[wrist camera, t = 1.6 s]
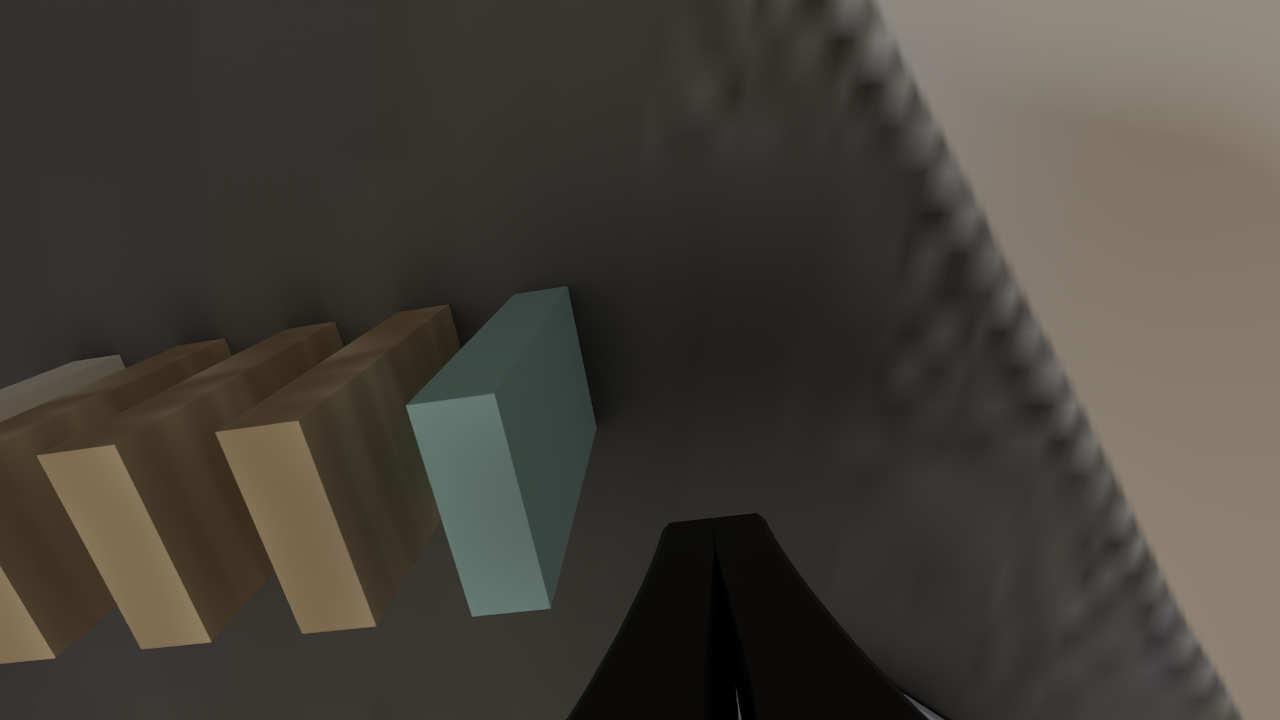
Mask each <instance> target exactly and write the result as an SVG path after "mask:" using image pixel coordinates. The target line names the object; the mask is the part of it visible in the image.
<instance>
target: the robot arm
mask: <svg viewBox="0 0 1280 720" xmlns="http://www.w3.org/2000/svg"><path fill="white" fill-rule="evenodd" d="M713 526H714V527H713ZM735 684H736V685H735ZM566 720H944V719H942V718H941V717H939V716H938V715H936V714H935V713H933V712H932V711H930V710H928V709H927V708H925V707H924V706H922V705H921V704H919V703H917V702H916V701H914V700H913V699H911V698H910V697H908V696H906V695H905V694H903V693H902V692H901V691H900V690H899V689H898V688H897V687H896V686H895V685H894V684H893V683H892V682H891V681H890V680H889V679H888V678H887V677H886V676H885V675H884V674H883V673H882V671H881V670H880V669H879V668H878V667H877V666H876V665H875V664H874V663H873V662H872V661H871V659H870V658H869V657H868V656H867V655H866V654H865V653H864V652H863V651H862V650H861V648H860V647H859V646H858V645H857V644H856V643H855V642H854V641H853V640H852V638H851V637H850V636H849V635H848V634H847V633H846V632H845V630H844V629H843V628H842V627H841V626H840V625H839V623H838V622H837V621H836V620H835V619H834V617H833V616H832V615H831V614H830V612H829V611H828V610H827V609H826V607H825V606H824V605H823V604H822V602H821V601H820V600H819V599H818V597H817V596H816V595H815V594H814V592H813V591H812V590H811V589H810V587H809V586H808V585H807V583H806V582H805V581H804V579H803V578H802V577H801V575H800V574H799V573H798V571H797V570H796V569H795V567H794V566H793V564H792V563H791V561H790V560H789V559H788V557H787V556H786V554H785V553H784V551H783V550H782V548H781V547H780V545H779V543H778V542H777V540H776V538H775V537H774V535H773V533H772V531H771V530H770V528H769V526H768V524H767V522H766V520H765V519H764V518H763V517H761V516H760V515H759V514H757V513H753V514H744V515H735V516H726V517H717V518H713V520H712V518H708V519H700V520H691V521H682V522H673V523H669V524H668V525H667V526H666V527H665V528H664V530H663V531H662V534H661V537H660V541H659V543H658V546H657V549H656V552H655V554H654V557H653V559H652V562H651V564H650V567H649V569H648V571H647V574H646V576H645V578H644V580H643V583H642V585H641V587H640V589H639V592H638V594H637V596H636V598H635V600H634V602H633V604H632V606H631V608H630V610H629V612H628V614H627V616H626V618H625V620H624V622H623V624H622V626H621V628H620V630H619V632H618V634H617V636H616V637H615V639H614V641H613V643H612V645H611V646H610V648H609V650H608V652H607V653H606V655H605V657H604V658H603V660H602V662H601V664H600V665H599V667H598V669H597V671H596V672H595V674H594V676H593V677H592V679H591V681H590V683H589V684H588V686H587V688H586V690H585V691H584V693H583V694H582V696H581V698H580V699H579V701H578V702H577V704H576V705H575V707H574V709H573V710H572V712H571V713H570V715H569V716H568V718H567V719H566Z"/></svg>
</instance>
